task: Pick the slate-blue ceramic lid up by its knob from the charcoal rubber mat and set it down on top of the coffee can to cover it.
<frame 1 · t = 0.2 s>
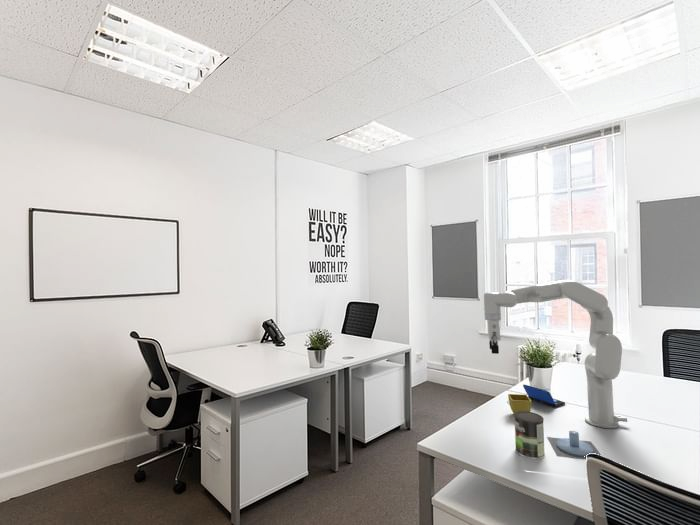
hand: (494, 351, 174), 31 cm above the table, fingers open, 9 cm apart
handheld game console: (544, 403, 186), on the table
flower pot: (520, 416, 170), on the table
lid: (574, 448, 137), resting on mat
mat: (574, 449, 137), on the table
coffee can: (530, 453, 135), on the table
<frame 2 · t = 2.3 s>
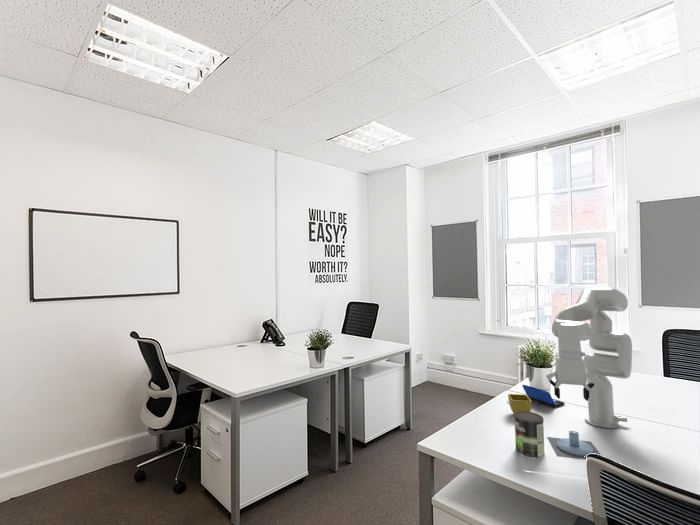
hand: (571, 398, 138), 20 cm above the table, fingers open, 9 cm apart
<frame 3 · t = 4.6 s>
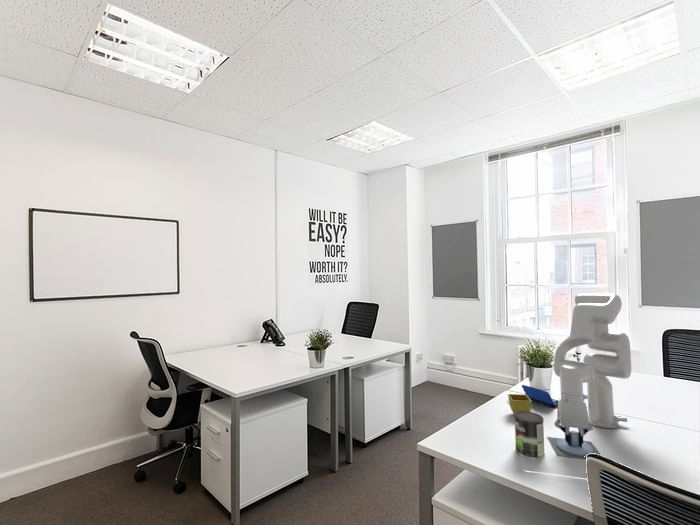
hand: (574, 444, 137), 2 cm above the table, fingers closed on lid, 3 cm apart
lid: (574, 448, 137), resting on mat, touching gripper
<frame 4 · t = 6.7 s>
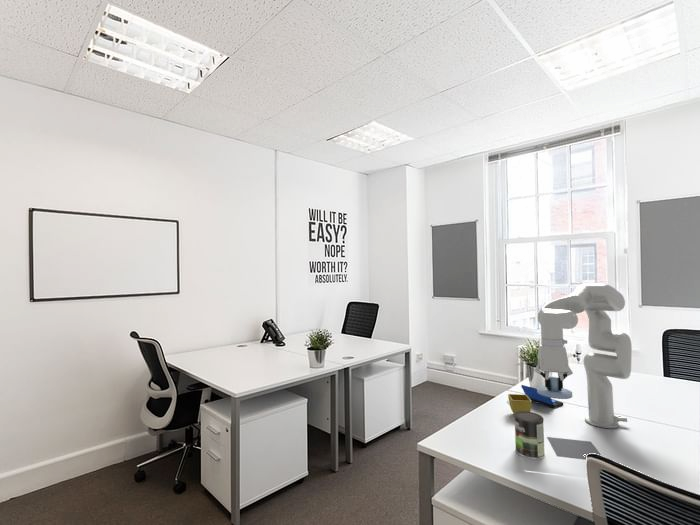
hand: (554, 389, 137), 24 cm above the table, fingers closed on lid, 3 cm apart
lid: (554, 393, 137), point 22 cm above the table, touching gripper
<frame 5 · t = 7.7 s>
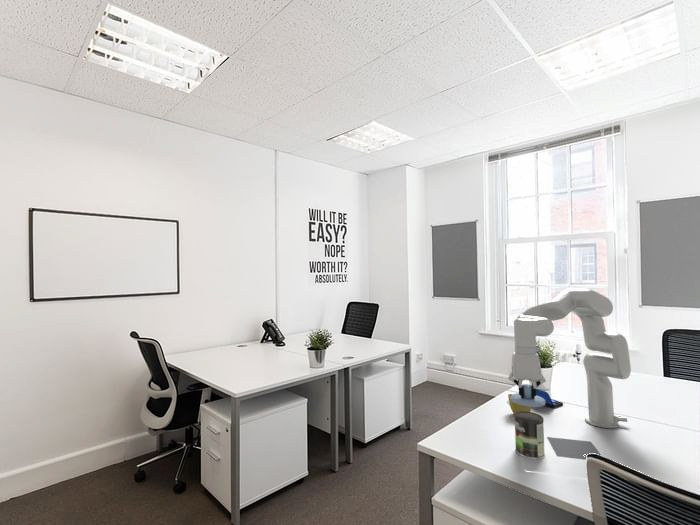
hand: (527, 397, 136), 21 cm above the table, fingers closed on lid, 3 cm apart
lid: (527, 401, 136), point 20 cm above the table, touching gripper
when the fingers open (17 cm above the table, at t = 8.6 s): lid drops 1 cm, resting on coffee can.
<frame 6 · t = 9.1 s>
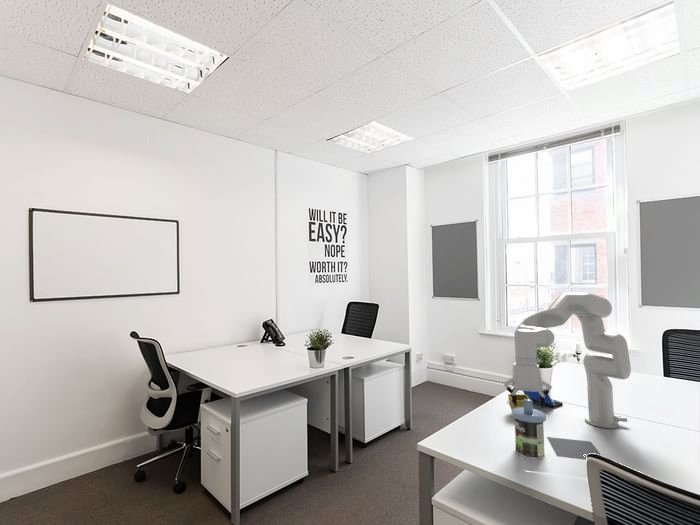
hand: (528, 405, 136), 18 cm above the table, fingers open, 8 cm apart
lid: (528, 416, 136), point 14 cm above the table, touching coffee can
coffee can: (530, 453, 135), on the table, touching lid
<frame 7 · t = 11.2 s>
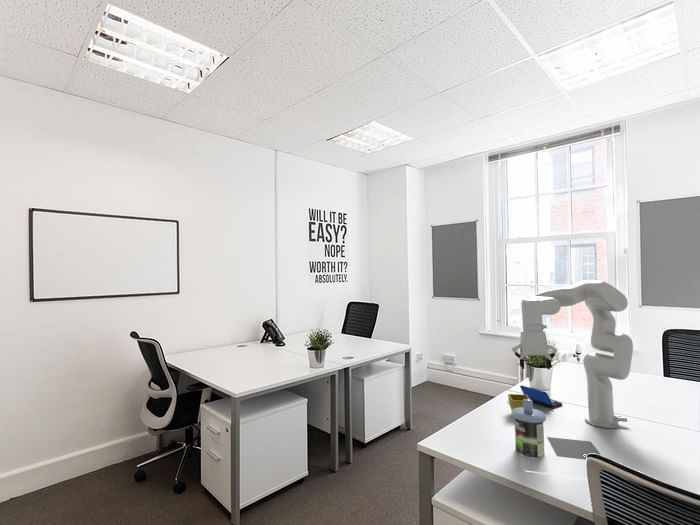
hand: (535, 368, 147), 29 cm above the table, fingers open, 9 cm apart
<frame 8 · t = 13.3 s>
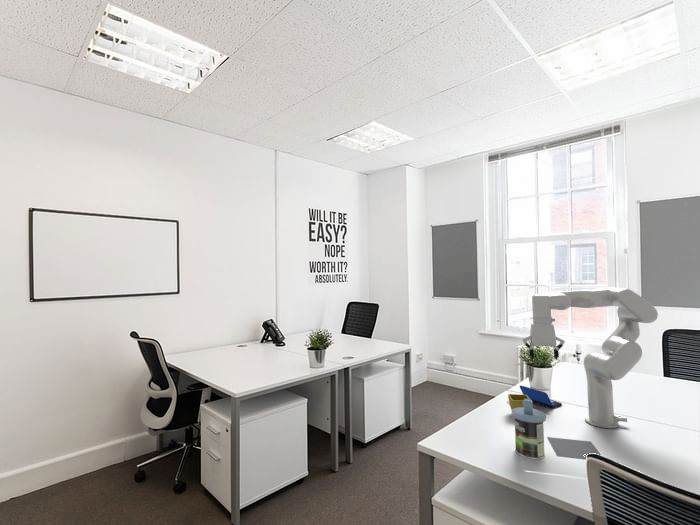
hand: (543, 358, 160), 30 cm above the table, fingers open, 9 cm apart
at the end: lid inside the target area on the coffee can (0.1 cm from its centre), point 14.3 cm above the coffee can's base; lid tilted 0°; the gripper is holding nothing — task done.
